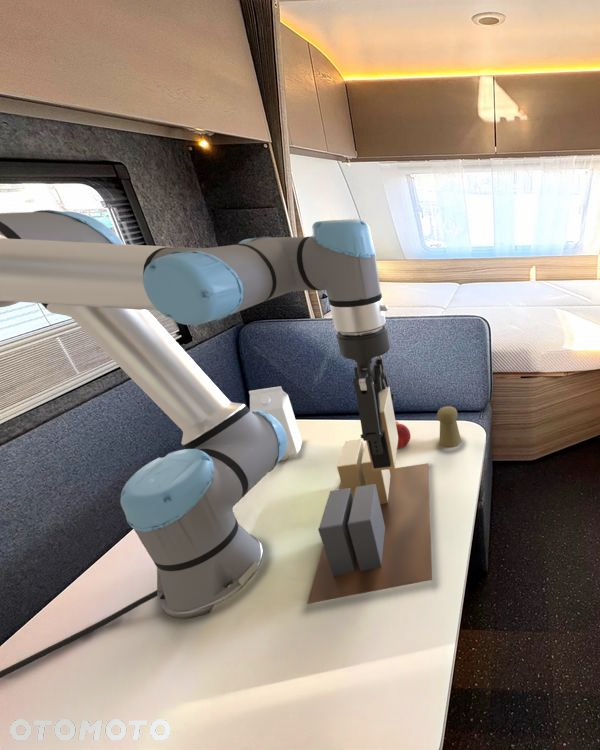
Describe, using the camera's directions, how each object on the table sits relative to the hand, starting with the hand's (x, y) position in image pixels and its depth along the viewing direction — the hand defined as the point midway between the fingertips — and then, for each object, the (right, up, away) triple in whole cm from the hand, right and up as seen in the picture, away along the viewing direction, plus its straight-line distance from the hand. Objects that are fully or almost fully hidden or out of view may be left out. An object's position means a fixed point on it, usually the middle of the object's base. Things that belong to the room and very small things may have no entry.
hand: (385, 448), depth 68 cm
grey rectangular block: (-3, -19, +3) cm, 19 cm away
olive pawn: (+7, -6, +34) cm, 35 cm away
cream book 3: (-6, -12, +17) cm, 22 cm away
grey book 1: (-8, -19, +2) cm, 21 cm away
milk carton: (-36, -8, +33) cm, 50 cm away
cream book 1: (-11, -13, +17) cm, 23 cm away
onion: (-6, -6, +34) cm, 35 cm away
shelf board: (-4, -17, +10) cm, 20 cm away
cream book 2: (0, -1, 0) cm, 1 cm away
